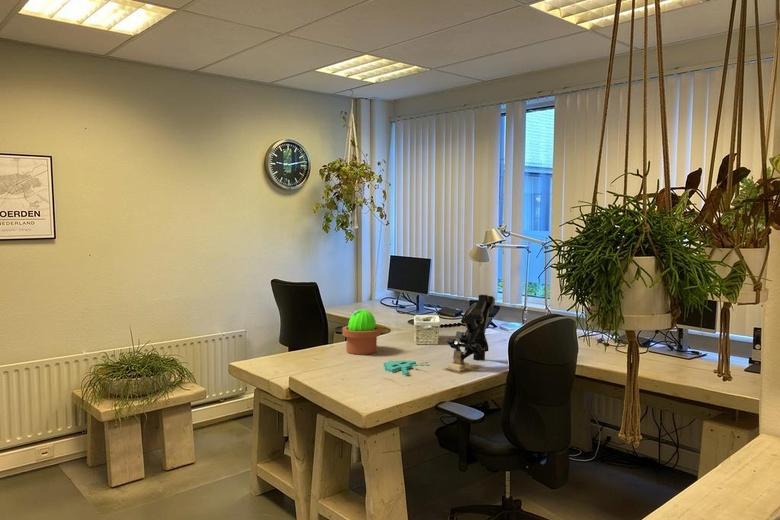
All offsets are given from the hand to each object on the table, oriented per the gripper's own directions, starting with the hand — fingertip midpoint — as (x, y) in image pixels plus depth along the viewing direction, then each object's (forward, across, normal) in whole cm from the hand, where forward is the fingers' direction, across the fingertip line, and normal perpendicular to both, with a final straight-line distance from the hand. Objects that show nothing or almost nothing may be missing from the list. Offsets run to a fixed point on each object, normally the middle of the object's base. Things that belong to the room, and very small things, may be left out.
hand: (457, 359), depth 288 cm
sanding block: (+3, 0, +5) cm, 5 cm away
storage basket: (-26, -57, +37) cm, 73 cm away
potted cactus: (+8, -66, +3) cm, 66 cm away
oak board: (+2, 0, +8) cm, 8 cm away
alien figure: (+15, -25, -4) cm, 29 cm away
